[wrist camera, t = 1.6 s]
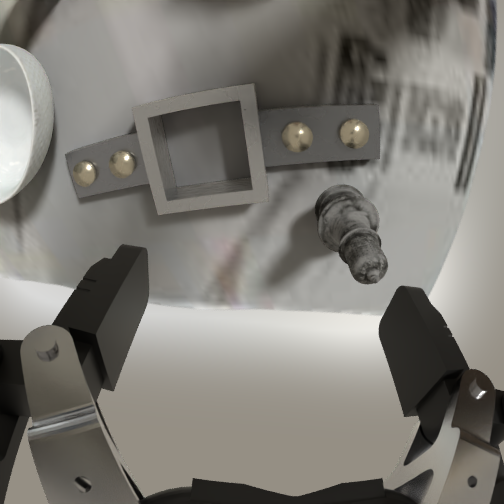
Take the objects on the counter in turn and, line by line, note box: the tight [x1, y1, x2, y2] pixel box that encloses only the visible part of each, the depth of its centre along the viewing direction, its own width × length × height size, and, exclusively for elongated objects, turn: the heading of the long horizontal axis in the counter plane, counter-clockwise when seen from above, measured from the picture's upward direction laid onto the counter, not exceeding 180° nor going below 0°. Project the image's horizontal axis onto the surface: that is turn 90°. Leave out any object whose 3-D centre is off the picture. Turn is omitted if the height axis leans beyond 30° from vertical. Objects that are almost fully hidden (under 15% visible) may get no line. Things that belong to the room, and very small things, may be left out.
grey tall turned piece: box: [315, 185, 388, 284], centre depth 25 cm, size 6×6×12 cm
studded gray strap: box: [65, 83, 380, 215], centre depth 26 cm, size 30×10×4 cm, turn 97°
